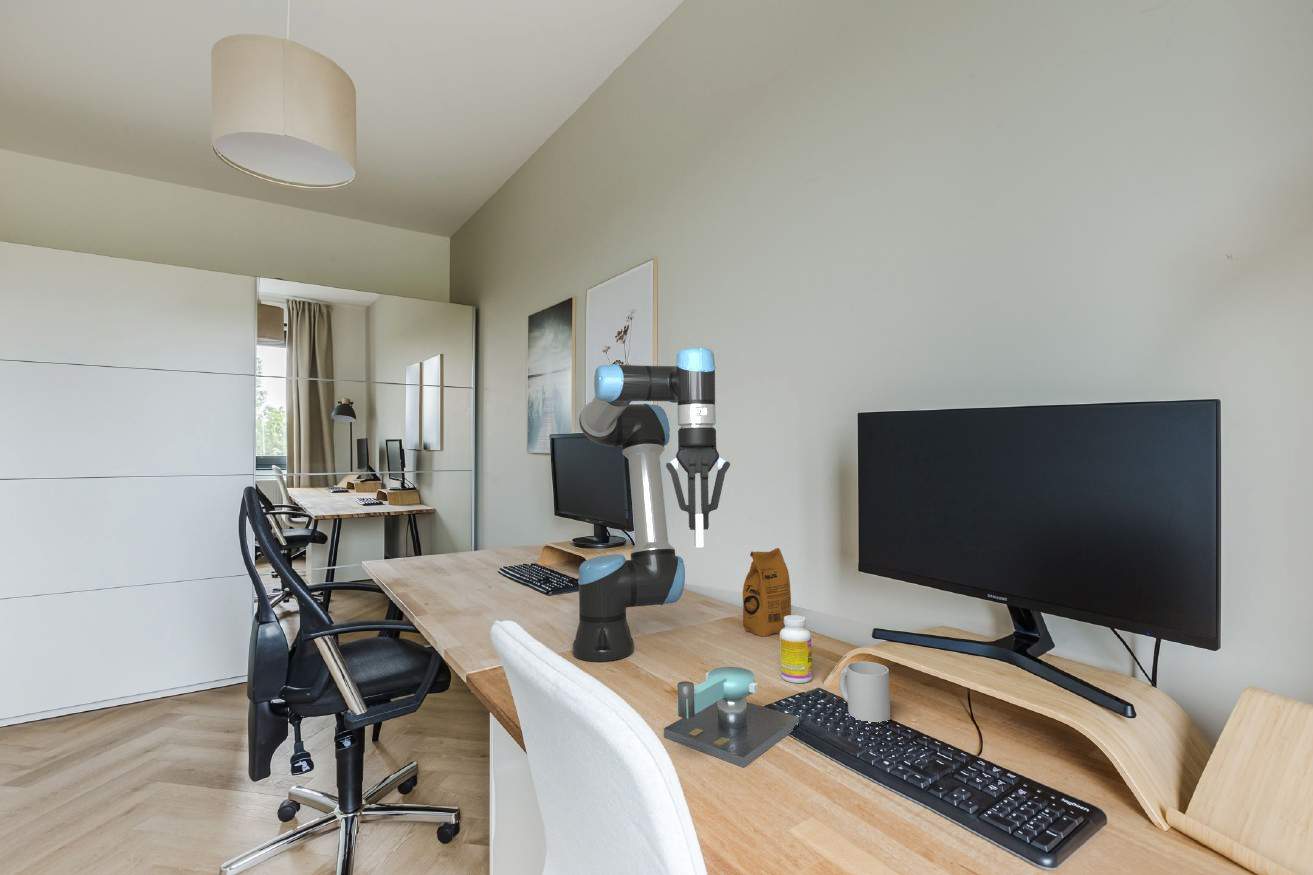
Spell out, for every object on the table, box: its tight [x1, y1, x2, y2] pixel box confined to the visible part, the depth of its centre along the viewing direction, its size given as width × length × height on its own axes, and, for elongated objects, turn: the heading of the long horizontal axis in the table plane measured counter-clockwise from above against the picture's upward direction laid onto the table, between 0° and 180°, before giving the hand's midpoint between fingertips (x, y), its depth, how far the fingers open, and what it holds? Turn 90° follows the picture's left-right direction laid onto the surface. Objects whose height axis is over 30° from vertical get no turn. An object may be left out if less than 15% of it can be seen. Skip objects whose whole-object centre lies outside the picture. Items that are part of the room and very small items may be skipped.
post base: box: [663, 696, 800, 768], centre depth 102 cm, size 16×18×7 cm
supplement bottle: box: [779, 614, 813, 684], centre depth 126 cm, size 7×7×13 cm
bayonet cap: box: [676, 666, 759, 719], centre depth 98 cm, size 18×10×5 cm, turn 140°
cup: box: [838, 660, 891, 723], centre depth 107 cm, size 7×10×9 cm
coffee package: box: [742, 547, 792, 638], centre depth 162 cm, size 10×12×22 cm
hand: (699, 546), depth 116 cm, fingers closed
